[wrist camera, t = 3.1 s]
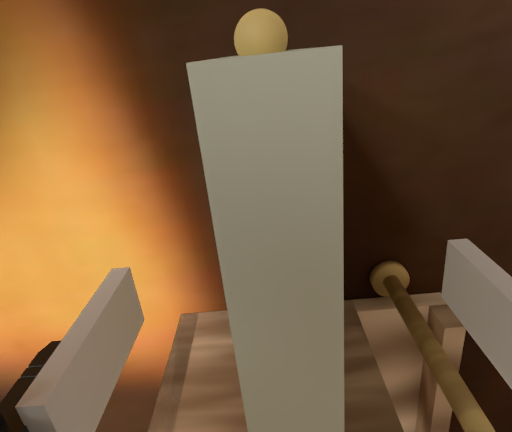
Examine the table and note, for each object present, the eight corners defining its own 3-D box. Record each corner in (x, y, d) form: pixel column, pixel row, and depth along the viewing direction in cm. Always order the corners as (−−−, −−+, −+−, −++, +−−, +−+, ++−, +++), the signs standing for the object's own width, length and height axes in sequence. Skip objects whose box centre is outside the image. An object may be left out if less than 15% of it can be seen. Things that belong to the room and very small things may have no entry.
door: (223, 35, 22) (177, 10, 9) (307, 25, 21) (384, -15, 9) (254, 288, 29) (254, 473, 16) (317, 282, 29) (367, 465, 16)
